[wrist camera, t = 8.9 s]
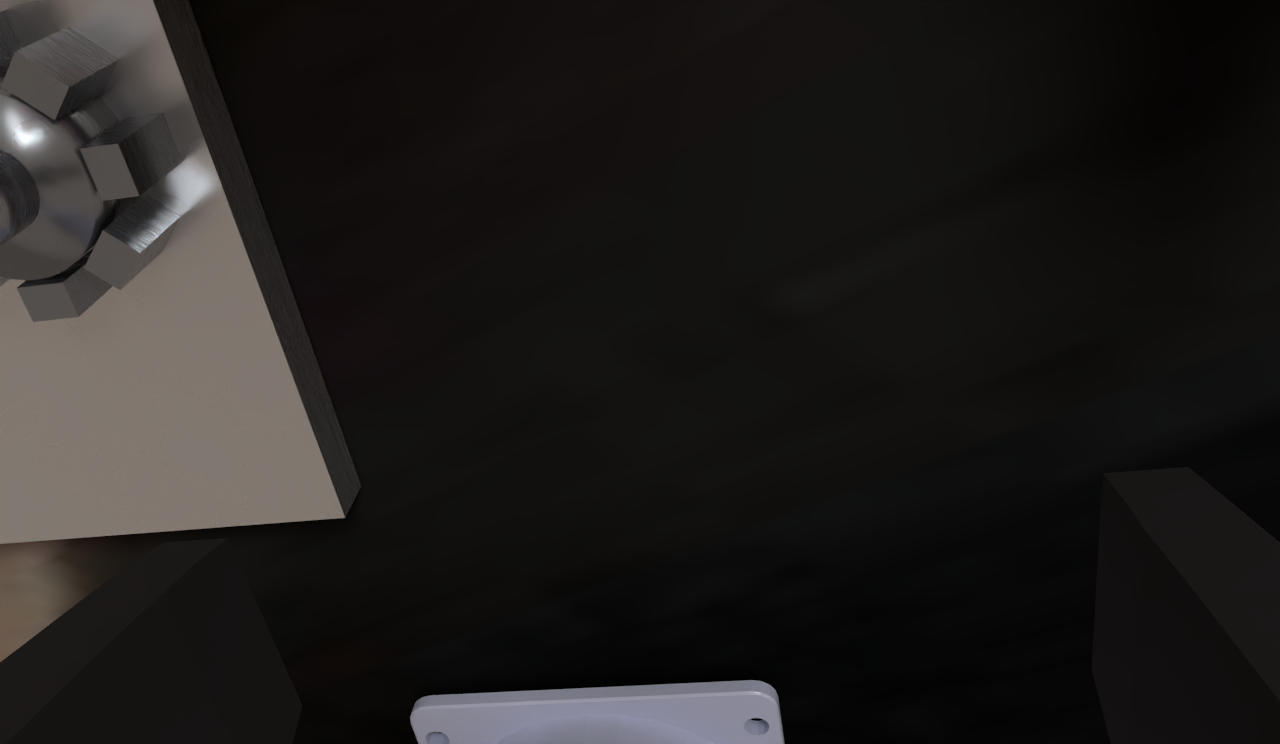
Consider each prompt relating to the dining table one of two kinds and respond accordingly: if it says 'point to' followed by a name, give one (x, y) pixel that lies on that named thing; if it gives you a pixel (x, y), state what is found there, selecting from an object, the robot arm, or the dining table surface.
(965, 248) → the dining table surface
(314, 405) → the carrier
